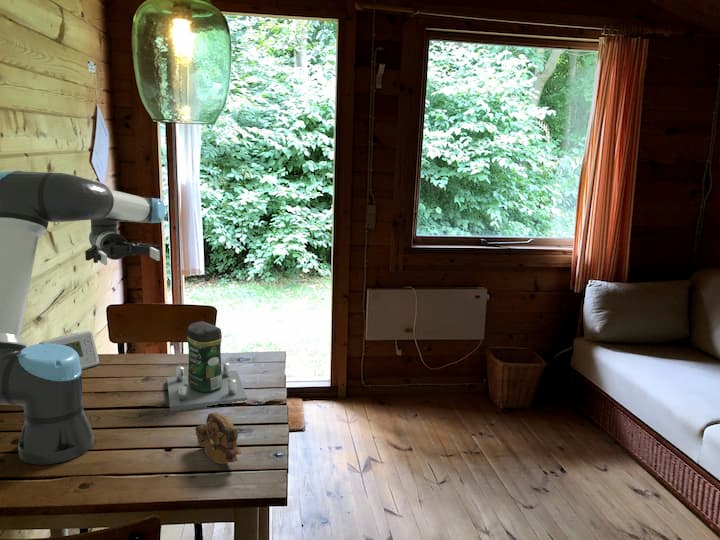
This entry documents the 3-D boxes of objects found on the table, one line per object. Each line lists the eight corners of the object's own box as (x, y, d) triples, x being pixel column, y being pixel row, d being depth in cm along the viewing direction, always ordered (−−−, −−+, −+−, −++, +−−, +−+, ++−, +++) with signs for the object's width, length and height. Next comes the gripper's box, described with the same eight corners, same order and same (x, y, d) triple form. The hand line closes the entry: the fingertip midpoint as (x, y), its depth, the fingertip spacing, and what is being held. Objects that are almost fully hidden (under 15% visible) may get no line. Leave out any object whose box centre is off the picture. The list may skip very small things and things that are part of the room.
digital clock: (44, 380, 165) (41, 345, 163) (37, 371, 172) (34, 337, 169) (103, 368, 176) (101, 335, 173) (94, 359, 182) (92, 327, 180)
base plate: (247, 402, 156) (247, 383, 155) (170, 411, 149) (169, 392, 148) (236, 375, 174) (236, 358, 173) (167, 381, 167) (166, 364, 166)
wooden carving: (188, 449, 132) (187, 408, 129) (205, 442, 135) (205, 402, 133) (230, 478, 121) (230, 434, 119) (248, 469, 124) (248, 427, 122)
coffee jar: (183, 385, 162) (181, 322, 158) (208, 378, 168) (207, 317, 164) (202, 396, 155) (200, 331, 152) (226, 388, 161) (226, 325, 157)
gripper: (155, 254, 178) (179, 267, 162) (67, 261, 164) (82, 275, 147) (154, 230, 177) (178, 241, 160) (65, 235, 162) (81, 247, 145)
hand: (132, 257), depth 153 cm, fingers open, 13 cm apart
